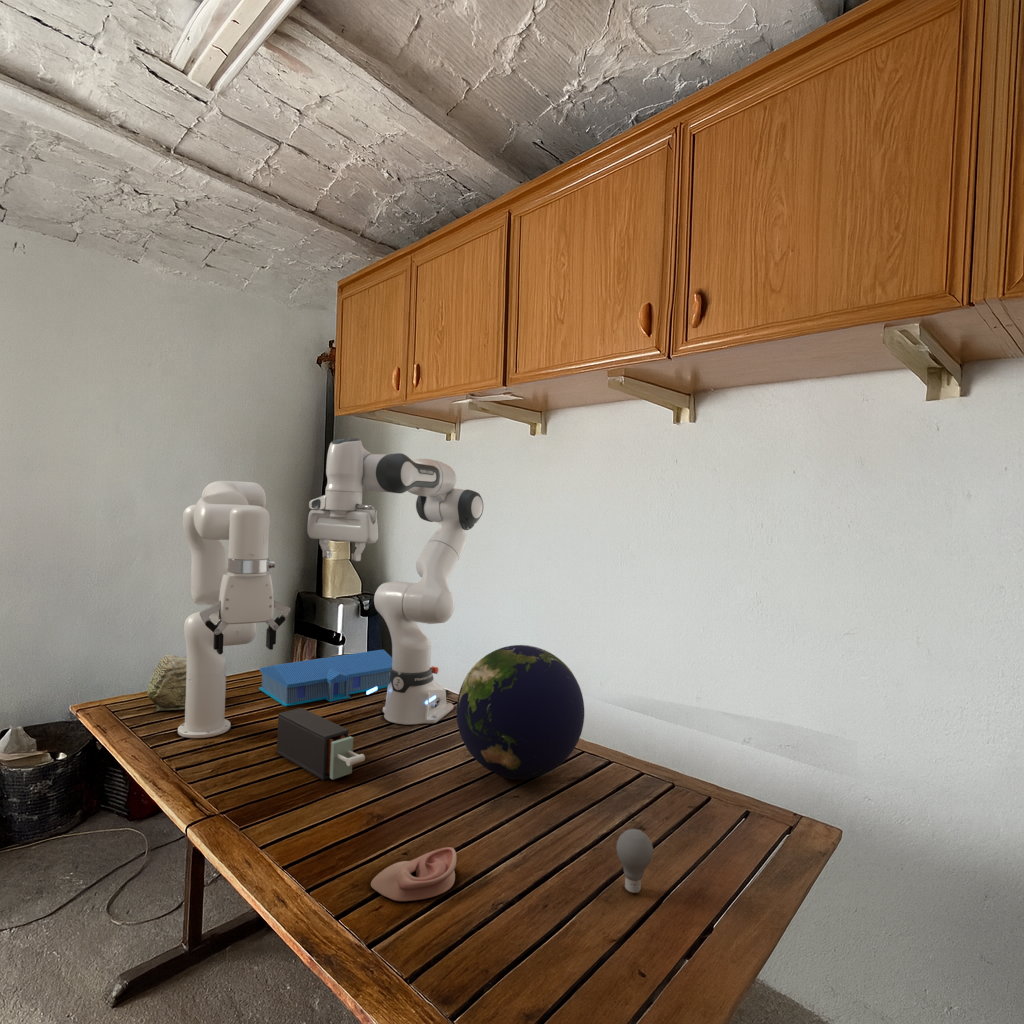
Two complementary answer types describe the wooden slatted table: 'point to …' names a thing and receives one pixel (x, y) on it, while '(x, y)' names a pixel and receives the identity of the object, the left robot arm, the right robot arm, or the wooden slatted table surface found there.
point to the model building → (326, 677)
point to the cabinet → (306, 739)
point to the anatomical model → (418, 876)
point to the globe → (520, 712)
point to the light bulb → (634, 857)
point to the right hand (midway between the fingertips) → (341, 559)
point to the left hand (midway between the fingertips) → (245, 650)
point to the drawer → (341, 756)
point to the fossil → (169, 683)
